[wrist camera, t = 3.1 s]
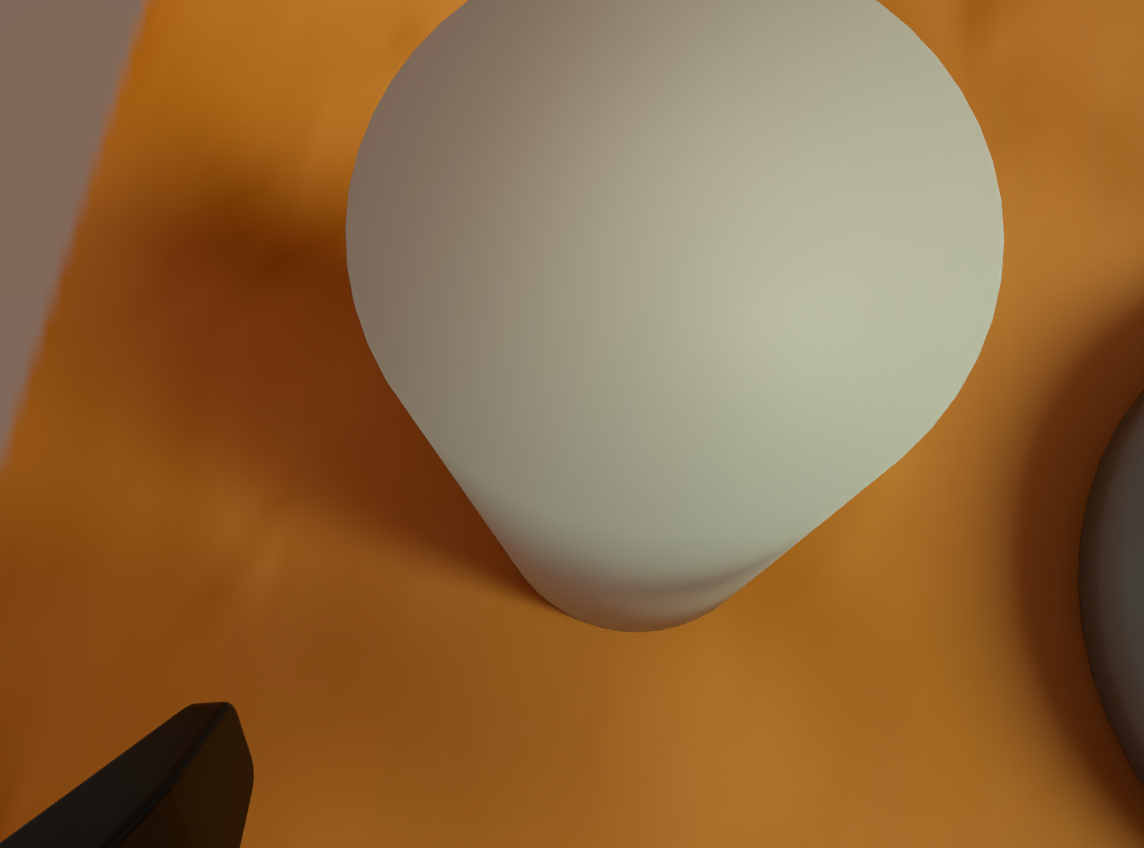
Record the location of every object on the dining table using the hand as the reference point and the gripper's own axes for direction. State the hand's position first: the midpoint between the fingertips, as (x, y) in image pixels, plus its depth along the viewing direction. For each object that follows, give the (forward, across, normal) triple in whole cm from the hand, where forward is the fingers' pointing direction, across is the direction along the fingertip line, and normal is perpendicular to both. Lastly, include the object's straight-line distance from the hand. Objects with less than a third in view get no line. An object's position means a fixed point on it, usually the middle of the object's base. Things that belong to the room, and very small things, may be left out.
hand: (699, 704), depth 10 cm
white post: (+11, 0, -5) cm, 12 cm away
